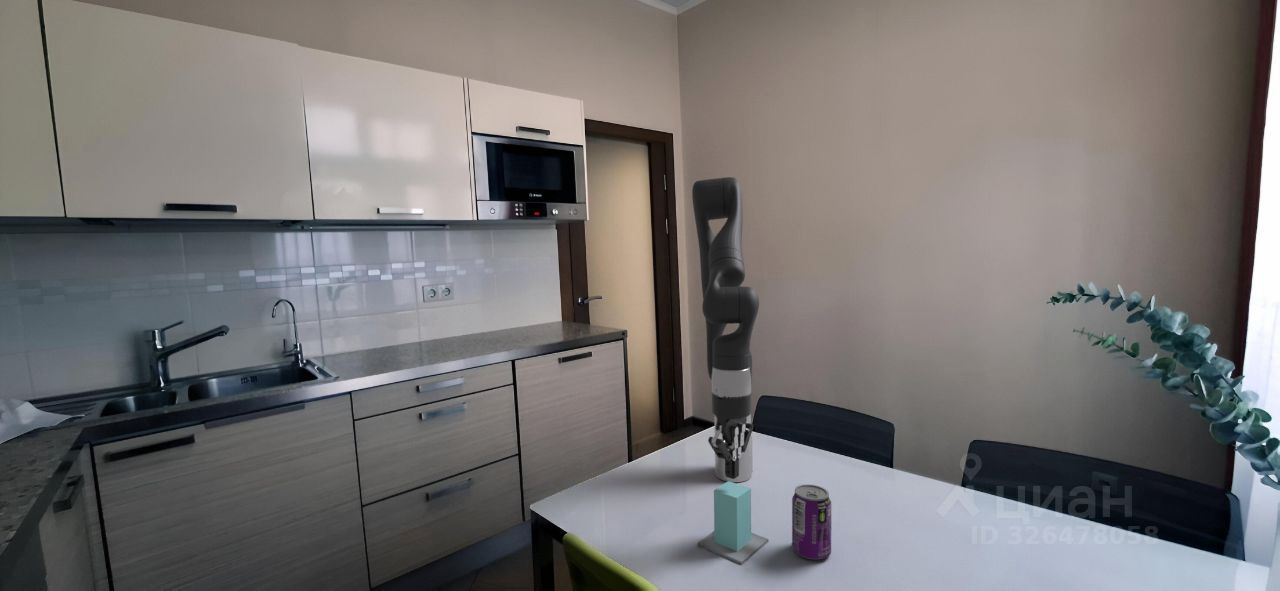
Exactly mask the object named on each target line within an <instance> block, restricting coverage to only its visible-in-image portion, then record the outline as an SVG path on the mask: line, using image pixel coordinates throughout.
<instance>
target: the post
mask: <svg viewBox="0 0 1280 591" xmlns="http://www.w3.org/2000/svg"><path fill="white" fill-rule="evenodd" d="M768 543H769V538H767V537H764V536H761V535H758V534H756V533H753V532H751V541H750V542H748V543H747V544H746V545H745V546H744V547H742V548H741V549H740V550H739V551H738V552H737V551H735V550H732V549H730V548H728V547H725V546H723V545H720V544H718V543H716V542H715V539H714V531H712V532H710V533H709V534H708V535H707V536H705V537H704V538H702V539H701V540H700V541H698V542H697V546H699V547H700V548H704V549H705V550H707V551H710V552H712V553H714V554H717V555H719V556H721V557H722V558H723V557H724V558H726V559H728V560H730V561H732V562H734V563H737V564H740V565H743V564H744V563H746V562H747V561H748V560H749V559H750V558H751V557H752V556H754V555H755V554H756V553H757V552H759V550H761V549H762V548H763V547H764V546H765V545H767V544H768Z"/></svg>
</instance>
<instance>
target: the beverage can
mask: <svg viewBox="0 0 1280 591" xmlns="http://www.w3.org/2000/svg"><path fill="white" fill-rule="evenodd" d="M791 503H792V504H791V505H792V507H791V508H792V509H791V515H792V516H791V534H792V535H791V547H792V550H793V551H794V552H795V553H797V555H800V556H801V557H803V558H806V559H808V560H816V561H817V560H822V559H826V558H828V557H830V556H831V554H832V500H831V499H830V492H829V491H828V490H827V489H826V488H824V487H822V486H819V485H815V484H800V485H798V486H796V487H795V488H794V494H793V495H792V500H791Z"/></svg>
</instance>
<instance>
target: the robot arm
mask: <svg viewBox="0 0 1280 591" xmlns="http://www.w3.org/2000/svg"><path fill="white" fill-rule="evenodd" d="M691 190H692V191H691V192H692V193H691V196H692V207H693V213H694V221H695V227H696V233H697V239H698V240H697V241H698V248H699V259H700V261H699V262H700V263H699V264H700V278H701V290H702V291H701V292H702V298H703V299H702V314H703V316H704V318H705V328H706V366H707V372H708V376H709V380H711V412H712V414H713V415H714V421H713V422H714V435H713V436H709V437H708V440H707V442H708V444H709V445H710V447H711V449H712V450H713V452H714V470H715V471H714V474H715V476H716V478H717V479H719V480H722V481H725V482H728V481H729V482H732V483H741V482H742V483H743V482H747V481H748V480H750V479H751V478H752V473H753V471H754V470H753V469H754V468H753V436H752V433H753V430H754V424H753V423H752V379H753V377H752V376H753V358H752V357H753V356H752V352H751V351H750V350H751V349H750V348H751V347H750V346H751V339H752V335H753V334H752V333H753V329H754V327H755V323H756V319H757V315H758V313H759V308H760V299H759V294H758V293H757V292H756V290H755V289H754V288H752V287H751V286H742V284H743V283H744V281H745V279H746V278H745V277H746V271H745V262H744V254H743V247H742V246H743V242H742V241H743V221H744V220H743V194H742V187H741V184H740V182H739V180H738V178H736V177H731V176H726V177H719V178H709V179H708V178H707V179H701V180H696V181H695V182H694V183H693V185H692V189H691ZM724 219H726V221H725V223H724V224H723V226H722V227H721V229H720V230H719V231H718V232H717V234H716V235H715V234H714V232H713V230H712V227H711V225H710V223H709V221H712V220H713V221H714V220H724ZM728 324H738V326H737V328H736V330H735V331H733V332H731V333H727V334H724V331H725V328H726V327H727V325H728Z"/></svg>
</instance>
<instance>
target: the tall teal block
mask: <svg viewBox="0 0 1280 591" xmlns="http://www.w3.org/2000/svg"><path fill="white" fill-rule="evenodd" d="M713 515H714V516H713V522H714V523H713V525H714V539H715V542H716V543H718V544H720V545H723V546H725V547H728V548H730V549H732V550H735V551H737V552H738V551H739V550H740V549H741V548H742V547H744V546H745V545H746V544H747V543H748V542H750V541H751V533H752V488H751V487H748V486H744V485H741V484H738V483H737V482H729V481H725V483H723V484H722V485H720V486H718V487H717V488H715V489H714V490H713Z"/></svg>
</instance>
